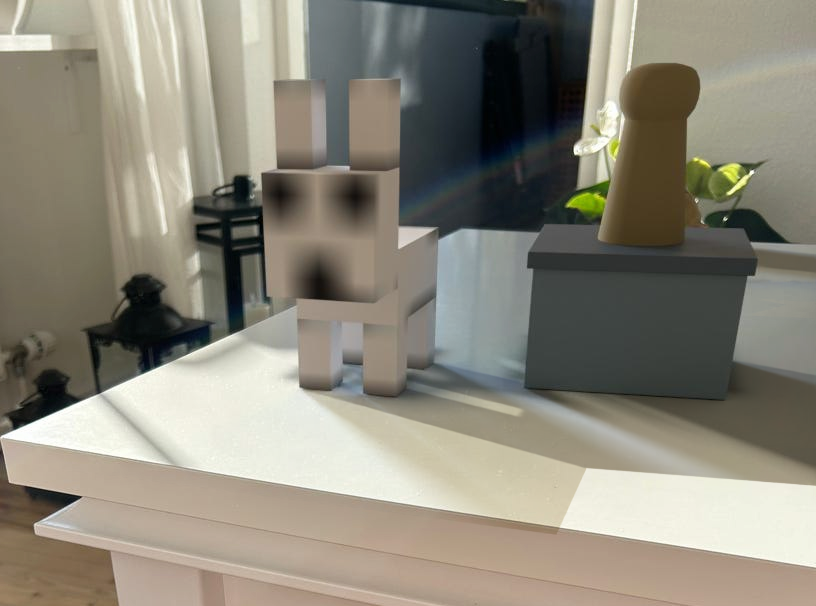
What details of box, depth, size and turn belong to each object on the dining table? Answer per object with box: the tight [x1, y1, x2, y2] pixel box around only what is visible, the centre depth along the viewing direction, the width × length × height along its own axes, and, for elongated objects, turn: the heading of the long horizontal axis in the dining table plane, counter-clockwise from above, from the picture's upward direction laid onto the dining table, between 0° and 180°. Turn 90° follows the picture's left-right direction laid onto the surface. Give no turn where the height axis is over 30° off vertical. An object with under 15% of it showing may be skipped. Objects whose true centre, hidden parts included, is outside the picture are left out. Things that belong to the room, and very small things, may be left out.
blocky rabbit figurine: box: [260, 77, 440, 398], centre depth 72 cm, size 8×18×20 cm, turn 159°
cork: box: [598, 62, 701, 246], centre depth 70 cm, size 6×6×11 cm
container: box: [523, 223, 759, 401], centre depth 76 cm, size 15×13×10 cm
